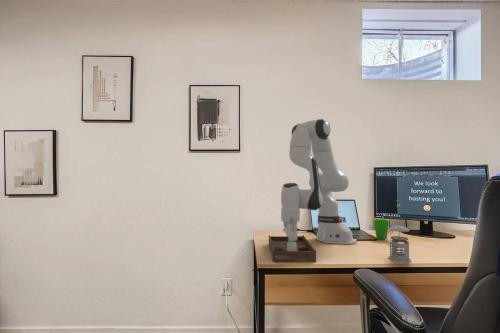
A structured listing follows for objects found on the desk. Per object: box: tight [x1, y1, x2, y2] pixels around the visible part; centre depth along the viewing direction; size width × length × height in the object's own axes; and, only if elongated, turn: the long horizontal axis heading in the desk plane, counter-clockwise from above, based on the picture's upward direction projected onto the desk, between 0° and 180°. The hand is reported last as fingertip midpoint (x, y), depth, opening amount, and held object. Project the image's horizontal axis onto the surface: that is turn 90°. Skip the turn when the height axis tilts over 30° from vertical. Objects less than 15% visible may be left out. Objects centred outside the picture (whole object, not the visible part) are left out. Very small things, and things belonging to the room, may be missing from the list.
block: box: [287, 242, 297, 251], centre depth 134 cm, size 4×4×4 cm
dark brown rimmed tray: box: [268, 235, 317, 263], centre depth 142 cm, size 30×19×5 cm, turn 0°
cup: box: [372, 218, 390, 241], centre depth 169 cm, size 9×9×11 cm
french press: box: [384, 203, 413, 264], centre depth 131 cm, size 10×12×25 cm
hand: (290, 246), depth 138 cm, fingers closed
